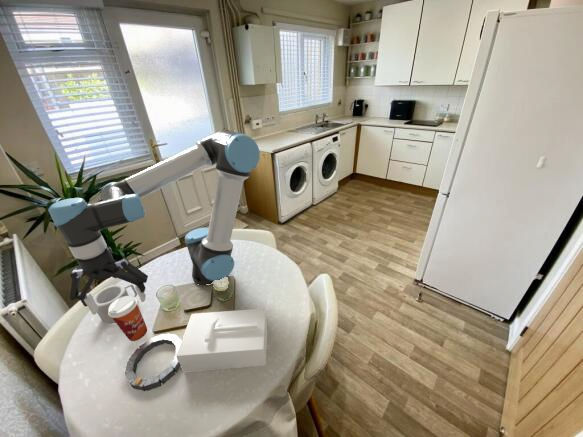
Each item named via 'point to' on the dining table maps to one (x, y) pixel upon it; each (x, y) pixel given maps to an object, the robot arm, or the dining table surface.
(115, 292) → the mug
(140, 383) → the grey stone ring
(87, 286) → the robot arm
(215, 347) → the white hammer box
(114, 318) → the coffee cup
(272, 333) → the dining table surface
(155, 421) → the dining table surface
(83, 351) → the dining table surface
